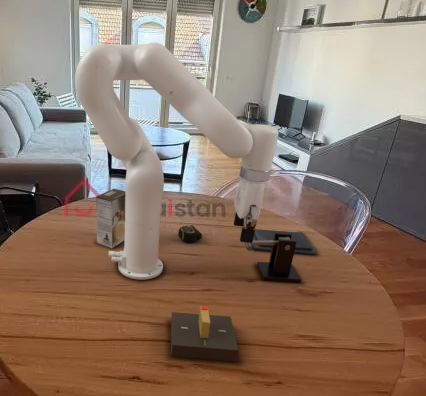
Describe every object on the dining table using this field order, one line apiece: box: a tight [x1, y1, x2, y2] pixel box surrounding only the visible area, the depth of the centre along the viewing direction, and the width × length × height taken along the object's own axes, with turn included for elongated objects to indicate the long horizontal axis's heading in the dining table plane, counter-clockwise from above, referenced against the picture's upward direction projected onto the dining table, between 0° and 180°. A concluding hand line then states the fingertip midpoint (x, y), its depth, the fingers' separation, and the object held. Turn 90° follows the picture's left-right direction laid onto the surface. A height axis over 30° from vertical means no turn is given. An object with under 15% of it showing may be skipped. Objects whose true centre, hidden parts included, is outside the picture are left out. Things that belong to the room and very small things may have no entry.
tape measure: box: [177, 225, 203, 243], centre depth 120 cm, size 7×7×4 cm
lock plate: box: [170, 311, 239, 363], centre depth 77 cm, size 13×10×3 cm
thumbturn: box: [198, 305, 210, 338], centre depth 76 cm, size 5×2×4 cm, turn 176°
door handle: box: [243, 237, 290, 252], centre depth 101 cm, size 12×6×2 cm, turn 87°
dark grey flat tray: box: [252, 228, 317, 256], centre depth 122 cm, size 20×2×15 cm
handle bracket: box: [256, 232, 302, 284], centre depth 102 cm, size 10×8×12 cm
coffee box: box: [95, 188, 125, 249], centre depth 115 cm, size 9×6×16 cm
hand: (242, 233), depth 100 cm, fingers open, 9 cm apart
